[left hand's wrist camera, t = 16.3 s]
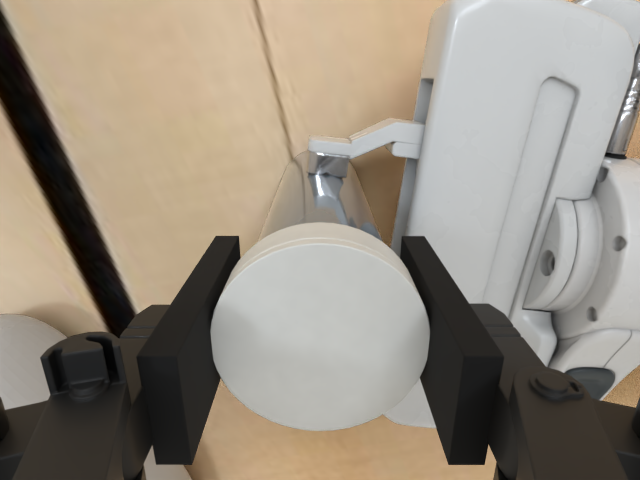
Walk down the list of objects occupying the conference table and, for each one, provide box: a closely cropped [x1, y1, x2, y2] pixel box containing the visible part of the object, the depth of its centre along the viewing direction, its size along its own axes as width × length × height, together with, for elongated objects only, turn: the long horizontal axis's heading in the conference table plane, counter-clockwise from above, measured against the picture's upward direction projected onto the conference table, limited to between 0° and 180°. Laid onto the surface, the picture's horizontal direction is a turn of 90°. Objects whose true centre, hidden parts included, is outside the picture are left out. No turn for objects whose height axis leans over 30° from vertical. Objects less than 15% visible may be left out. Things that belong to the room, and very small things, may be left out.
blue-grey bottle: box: [257, 150, 383, 242], centre depth 19 cm, size 5×5×16 cm
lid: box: [210, 222, 430, 431], centre depth 11 cm, size 6×6×2 cm
